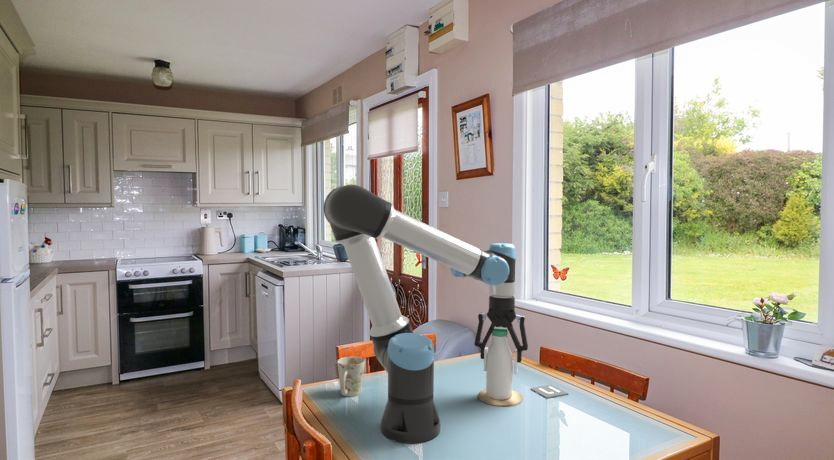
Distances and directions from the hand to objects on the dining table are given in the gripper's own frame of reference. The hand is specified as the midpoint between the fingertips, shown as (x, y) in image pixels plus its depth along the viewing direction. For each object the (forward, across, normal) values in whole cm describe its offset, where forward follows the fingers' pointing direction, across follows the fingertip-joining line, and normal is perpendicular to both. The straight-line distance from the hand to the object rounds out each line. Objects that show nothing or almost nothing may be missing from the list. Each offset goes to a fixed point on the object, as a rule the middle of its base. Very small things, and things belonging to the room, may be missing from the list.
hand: (500, 371), depth 147 cm
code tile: (+8, -14, -9) cm, 18 cm away
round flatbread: (+8, 0, 0) cm, 8 cm away
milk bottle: (+8, 0, 0) cm, 8 cm away
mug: (+8, +44, +12) cm, 46 cm away
